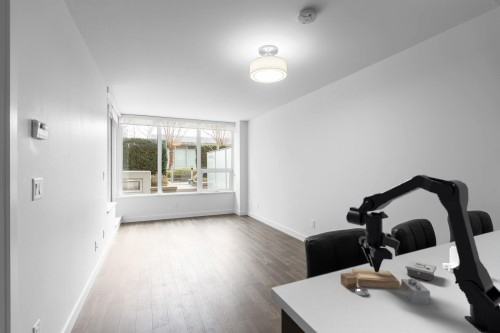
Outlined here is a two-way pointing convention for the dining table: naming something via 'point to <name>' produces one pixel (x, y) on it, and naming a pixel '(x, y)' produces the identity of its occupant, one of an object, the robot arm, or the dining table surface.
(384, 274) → the tan shallow rectangular tray
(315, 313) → the dining table surface
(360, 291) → the chrome dome knob
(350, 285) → the walnut offcut
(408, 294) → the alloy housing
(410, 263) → the electrical switch
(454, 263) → the cable organizer
